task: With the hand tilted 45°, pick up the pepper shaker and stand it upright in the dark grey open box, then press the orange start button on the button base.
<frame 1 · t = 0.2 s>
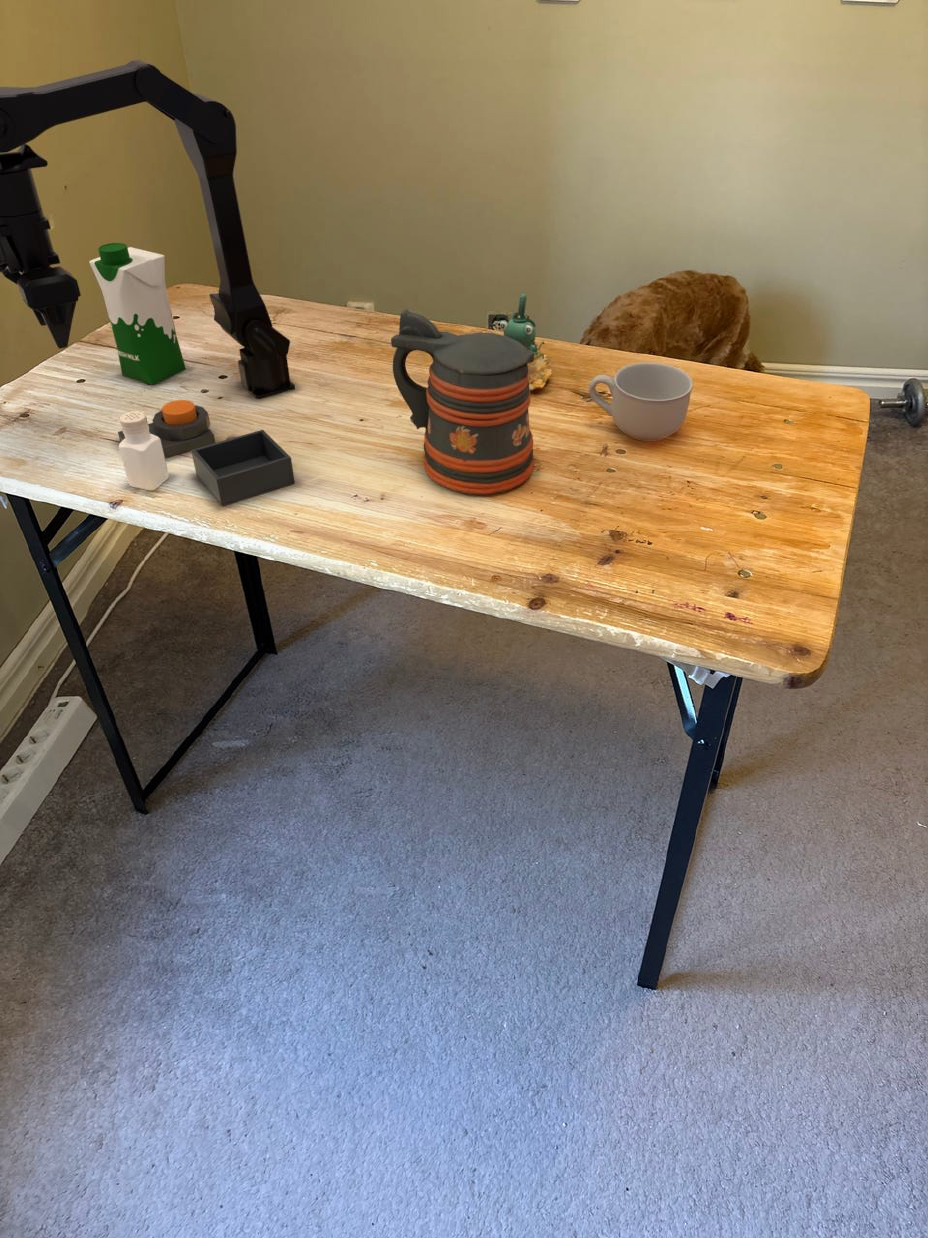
hand: (53, 335, 119), 15 cm above the table, tool pointing down, fingers open, 9 cm apart
teacup: (635, 430, 129), on the table
start button: (179, 412, 125), point 4 cm above the table, slide at 0.1 cm
milk carton: (155, 373, 145), on the table
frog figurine: (522, 381, 142), on the table
beer stein: (463, 467, 122), on the table
button base: (168, 443, 127), on the table
pepper shaker: (150, 484, 119), on the table
dark grey open box: (245, 480, 119), on the table
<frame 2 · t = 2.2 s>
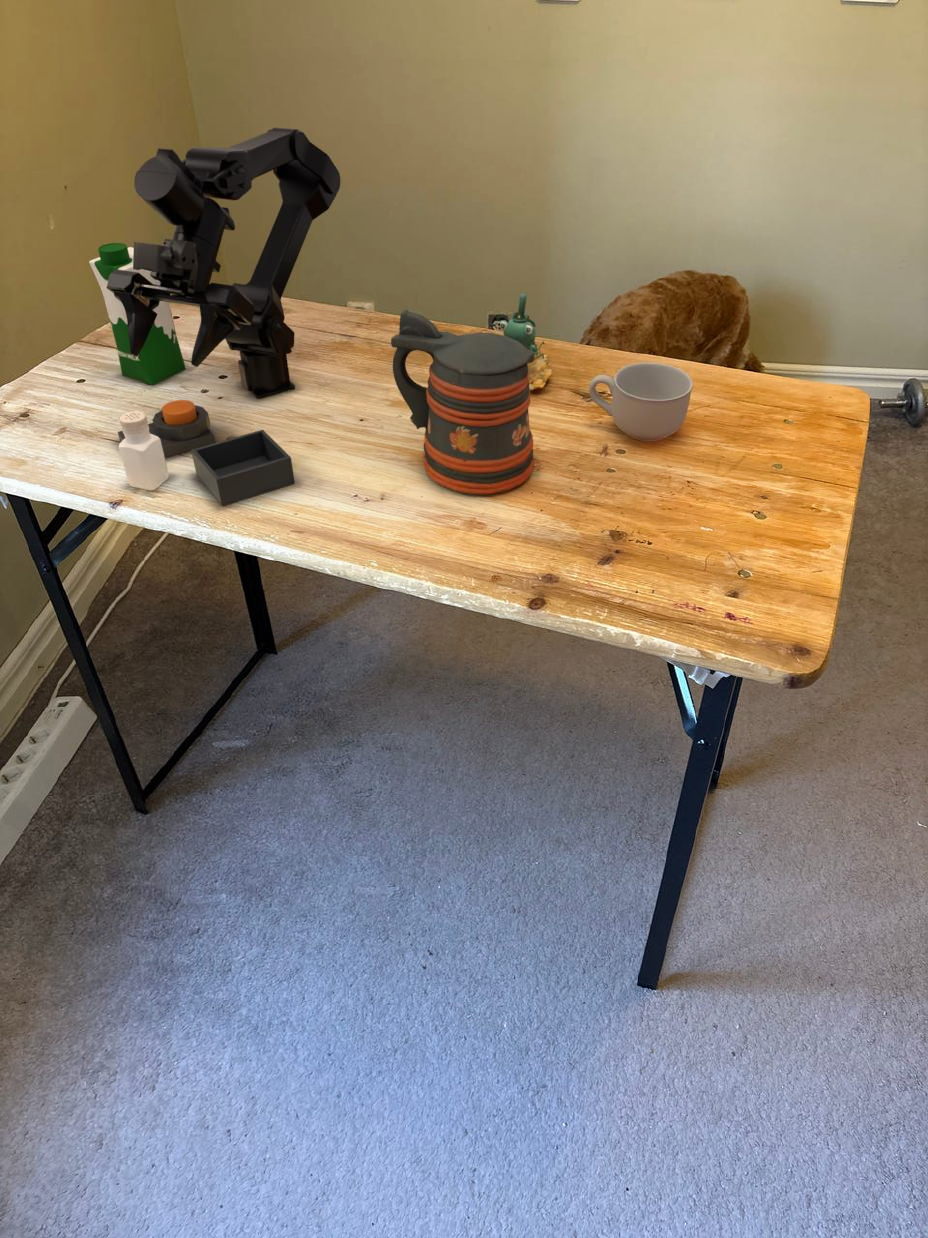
hand: (163, 360, 116), 13 cm above the table, tool tilted 45°, fingers open, 9 cm apart
nothing on the table moved.
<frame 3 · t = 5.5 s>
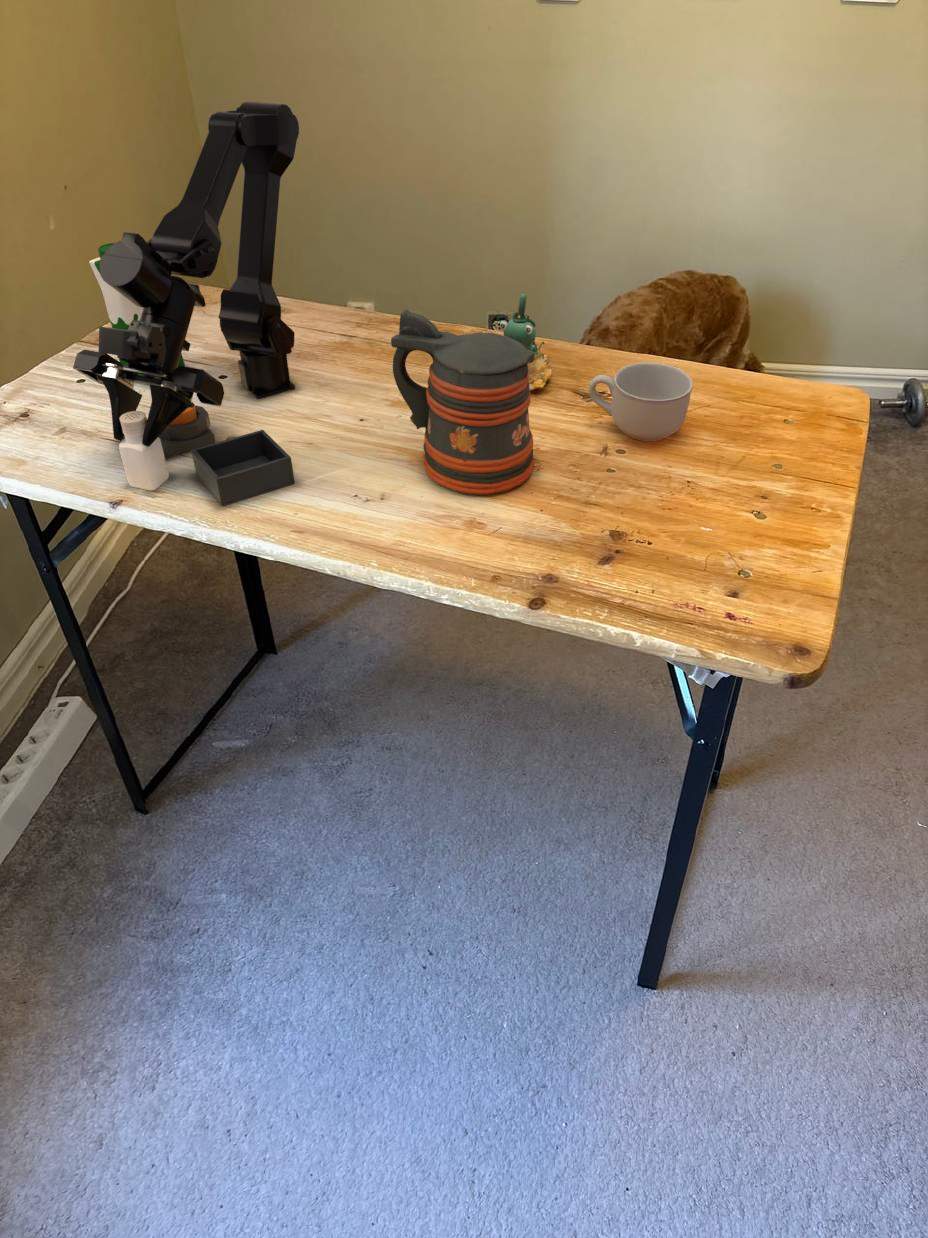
hand: (131, 442, 113), 7 cm above the table, tool tilted 45°, fingers closed on pepper shaker, 4 cm apart
pepper shaker: (150, 484, 119), on the table, touching gripper
everything else where it was.
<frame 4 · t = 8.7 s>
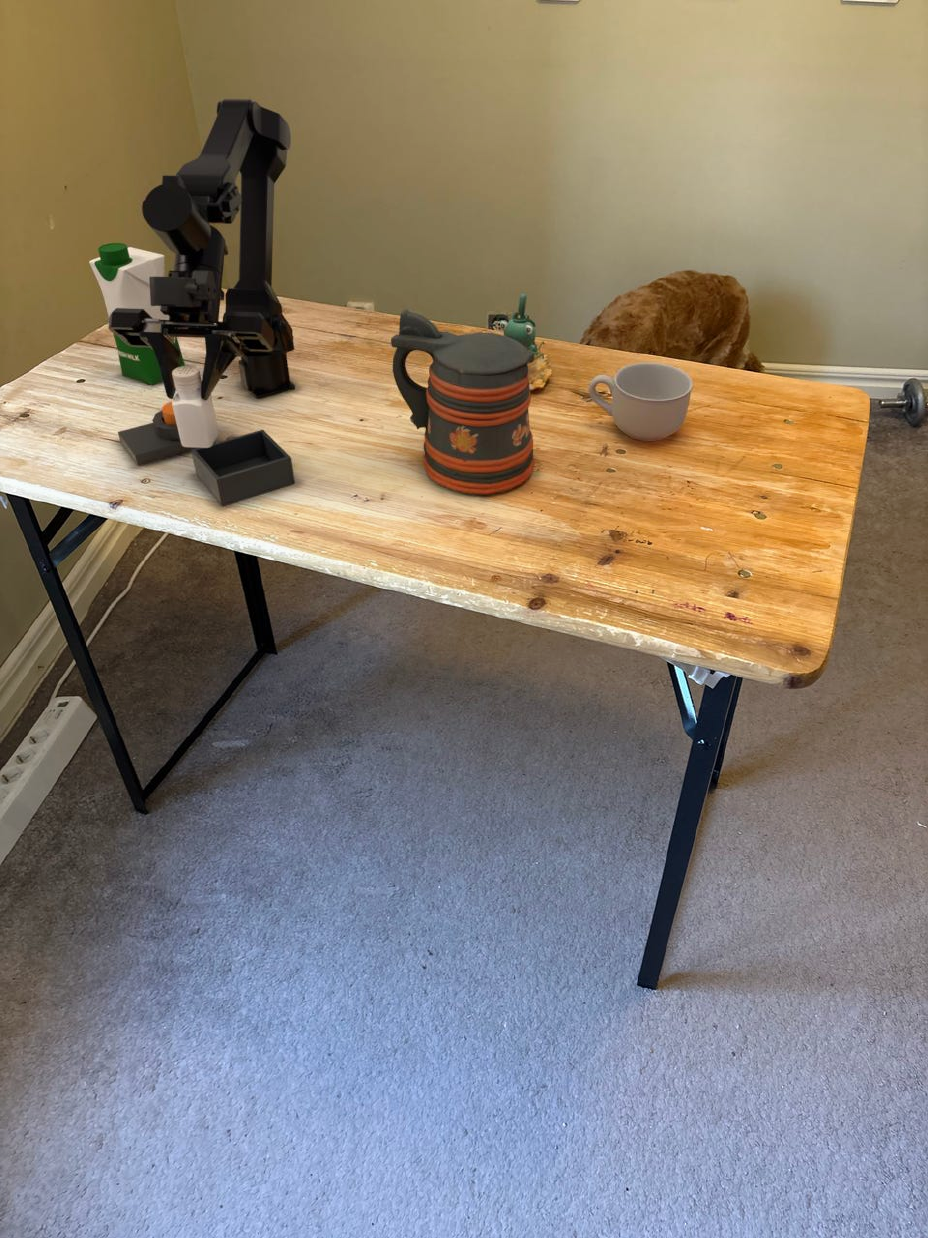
hand: (186, 398, 109), 13 cm above the table, tool tilted 45°, fingers closed on pepper shaker, 4 cm apart
pepper shaker: (201, 442, 115), point 6 cm above the table, touching gripper
everything else where it was.
when the fingers open (7 cm above the table, at t = 11.9 s): pepper shaker stays where it is, resting on dark grey open box.
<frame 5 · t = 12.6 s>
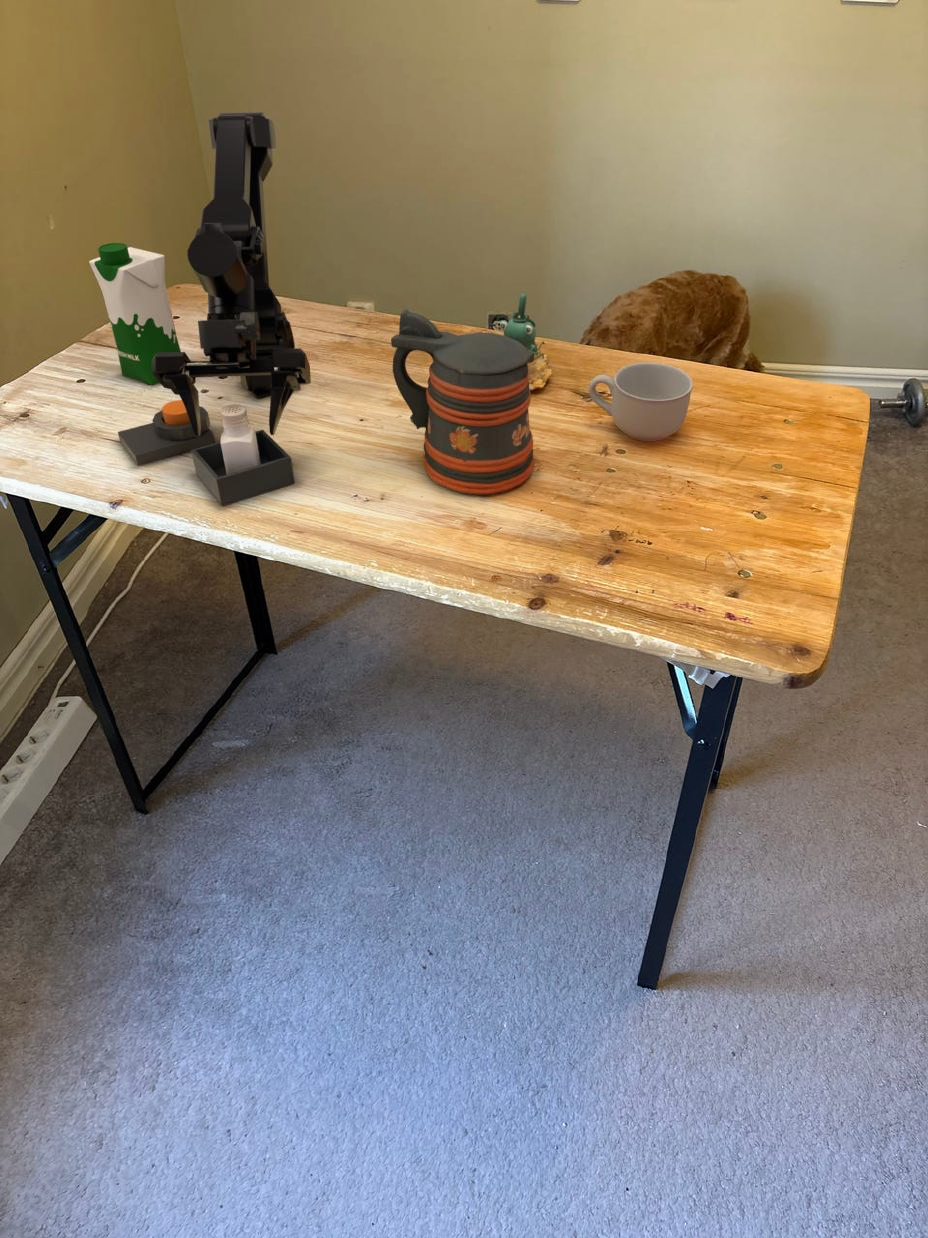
hand: (234, 435, 113), 7 cm above the table, tool tilted 45°, fingers open, 9 cm apart
pepper shaker: (245, 477, 119), resting on dark grey open box
everything else where it was.
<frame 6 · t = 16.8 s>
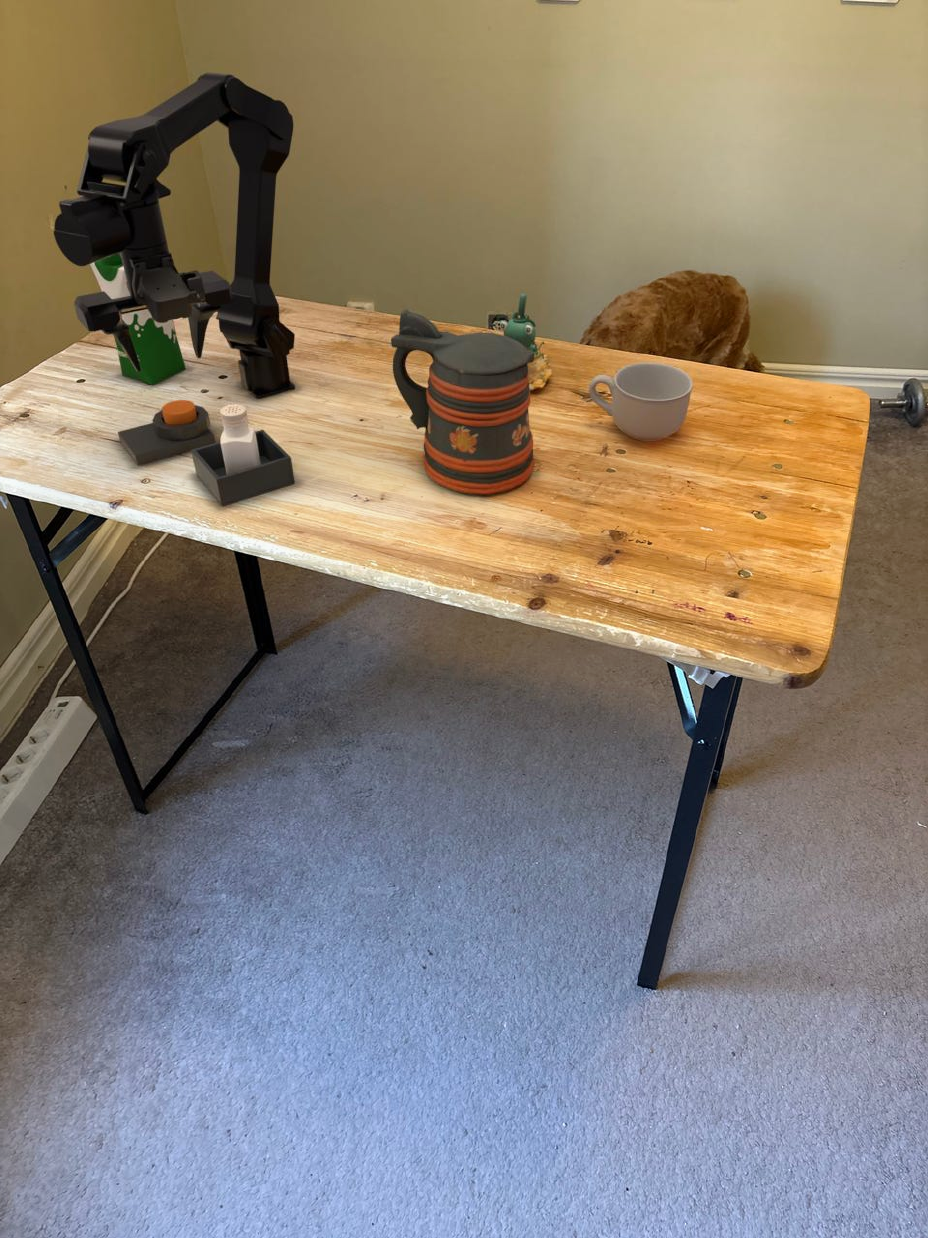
hand: (169, 364, 121), 11 cm above the table, tool pointing down, fingers open, 8 cm apart
nothing on the table moved.
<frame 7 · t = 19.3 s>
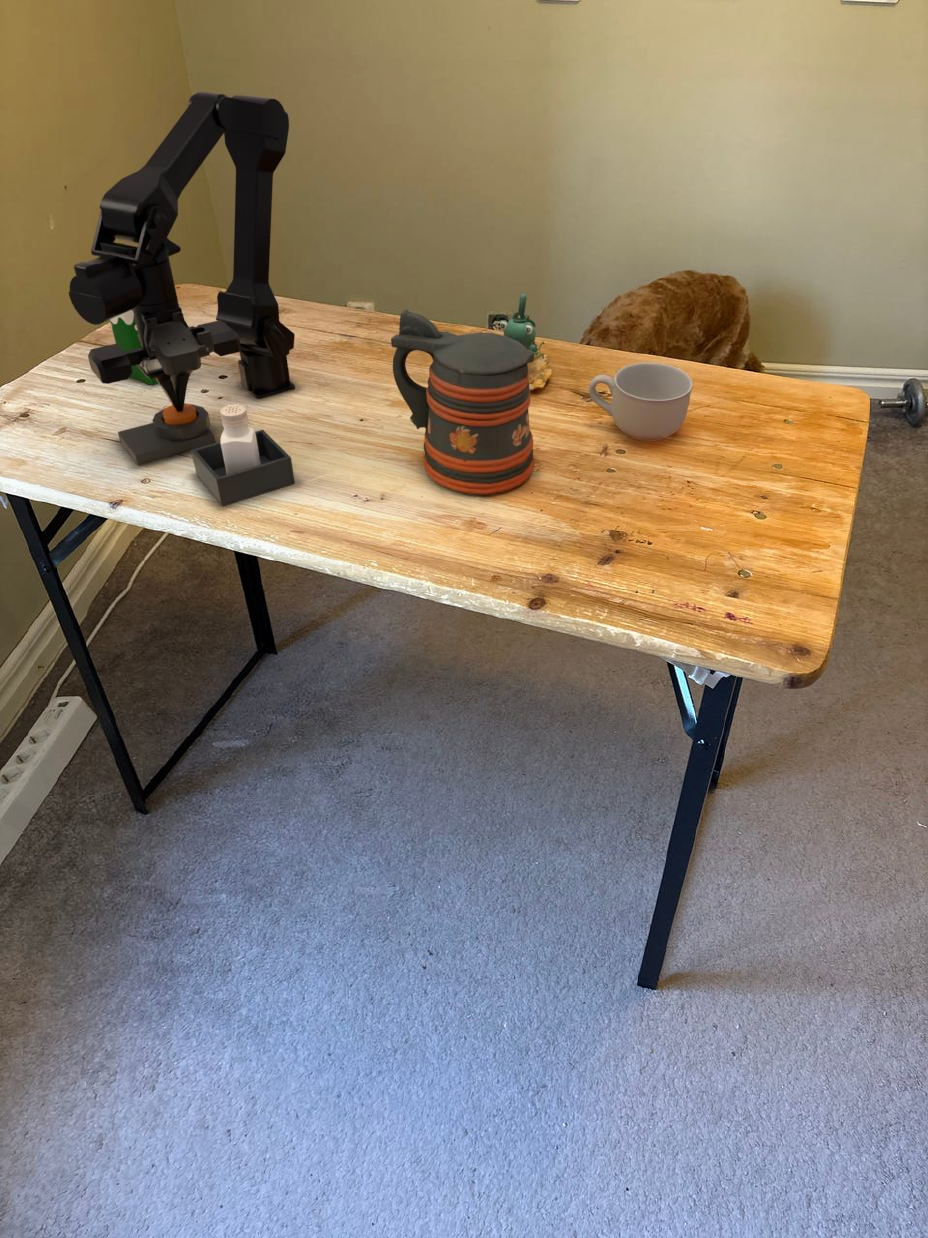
hand: (179, 410, 125), 4 cm above the table, tool pointing down, fingers closed, pressing on start button
start button: (180, 416, 126), point 4 cm above the table, slide at -0.4 cm, touching gripper
everything else where it was.
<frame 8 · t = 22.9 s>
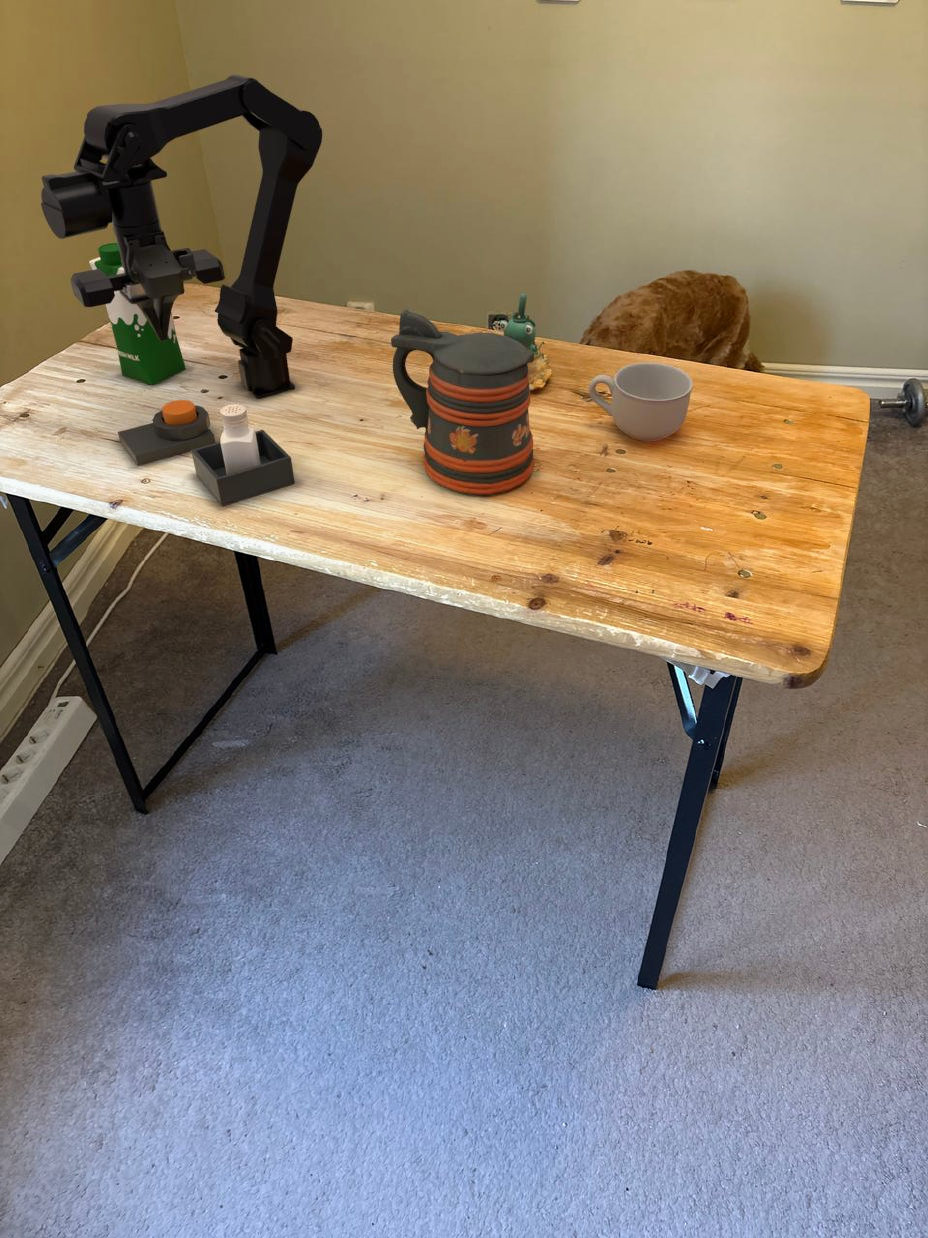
hand: (163, 340, 125), 12 cm above the table, tool pointing down, fingers closed
start button: (179, 412, 125), point 4 cm above the table, slide at 0.1 cm
everything else where it was.
at the end: pepper shaker inside the target area in the dark grey open box (0.2 cm from its centre), point 0.3 cm above the dark grey open box's base; pepper shaker tilted 0°; start button pushed in 1.0 cm at the most during the clip, back to where it started at the end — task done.
